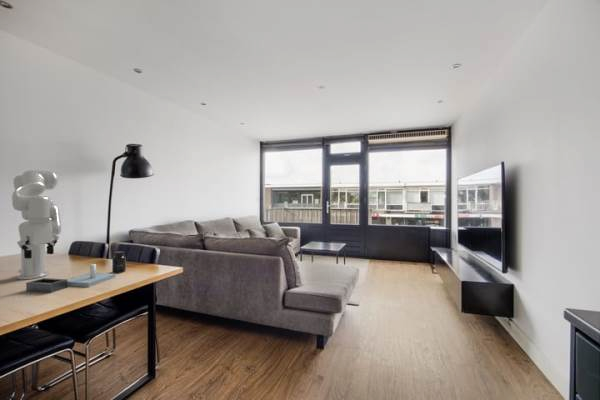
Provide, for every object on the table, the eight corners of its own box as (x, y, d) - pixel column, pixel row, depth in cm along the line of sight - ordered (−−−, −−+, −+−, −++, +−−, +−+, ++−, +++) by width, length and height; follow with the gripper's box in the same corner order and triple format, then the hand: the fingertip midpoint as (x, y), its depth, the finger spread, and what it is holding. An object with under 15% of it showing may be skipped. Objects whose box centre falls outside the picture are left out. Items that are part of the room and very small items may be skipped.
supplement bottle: (118, 273, 156) (118, 253, 155) (109, 273, 157) (109, 253, 157) (128, 270, 162) (128, 251, 162) (119, 269, 164) (119, 250, 164)
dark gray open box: (26, 291, 127) (26, 282, 127) (43, 285, 134) (43, 278, 134) (50, 292, 125) (50, 284, 125) (67, 287, 132) (67, 279, 132)
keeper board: (61, 285, 135) (61, 267, 135) (90, 275, 151) (90, 260, 151) (88, 286, 133) (88, 269, 133) (115, 277, 149) (115, 261, 149)
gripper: (51, 219, 139) (51, 252, 139) (11, 222, 122) (11, 259, 122) (63, 220, 138) (64, 252, 138) (24, 223, 121) (25, 260, 121)
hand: (39, 256), depth 130 cm, fingers open, 9 cm apart
